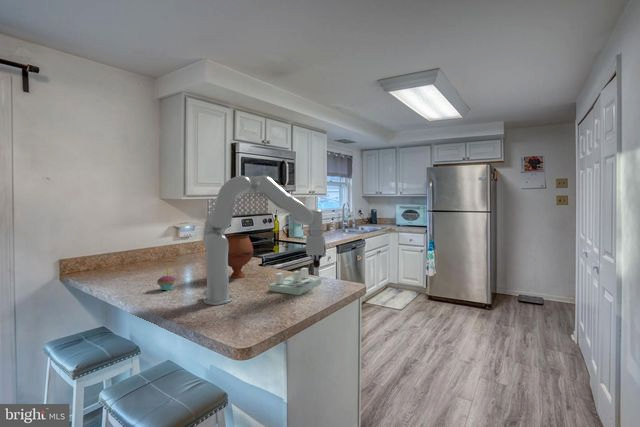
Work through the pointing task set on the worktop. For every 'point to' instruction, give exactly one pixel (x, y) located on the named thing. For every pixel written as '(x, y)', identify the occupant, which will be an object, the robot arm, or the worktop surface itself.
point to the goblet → (239, 253)
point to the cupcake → (166, 281)
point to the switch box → (295, 285)
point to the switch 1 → (279, 278)
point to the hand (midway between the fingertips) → (316, 267)
